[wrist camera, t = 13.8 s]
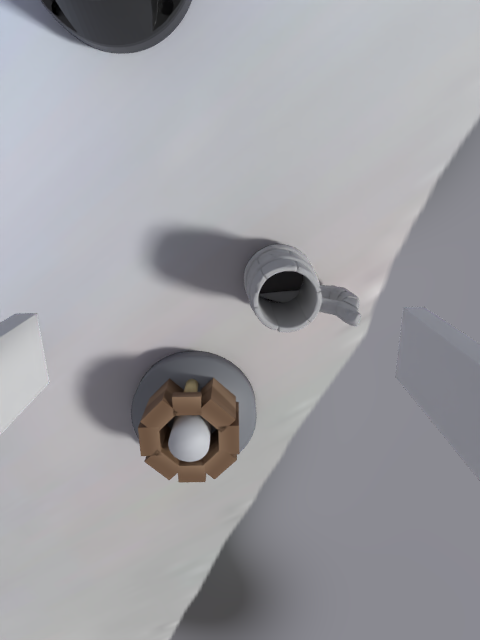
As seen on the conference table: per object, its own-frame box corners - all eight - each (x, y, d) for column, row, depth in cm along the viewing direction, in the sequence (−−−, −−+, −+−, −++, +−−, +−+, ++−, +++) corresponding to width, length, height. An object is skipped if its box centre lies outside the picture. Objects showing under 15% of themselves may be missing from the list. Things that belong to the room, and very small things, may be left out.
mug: (251, 235, 45) (255, 253, 34) (354, 258, 46) (393, 282, 34) (236, 301, 47) (236, 338, 36) (335, 321, 48) (365, 364, 37)
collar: (144, 376, 47) (134, 397, 43) (238, 374, 47) (238, 395, 43) (152, 455, 51) (144, 483, 46) (239, 453, 51) (240, 481, 46)
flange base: (130, 352, 49) (110, 382, 42) (255, 349, 49) (258, 380, 42) (141, 457, 54) (126, 502, 46) (255, 455, 54) (258, 499, 46)
